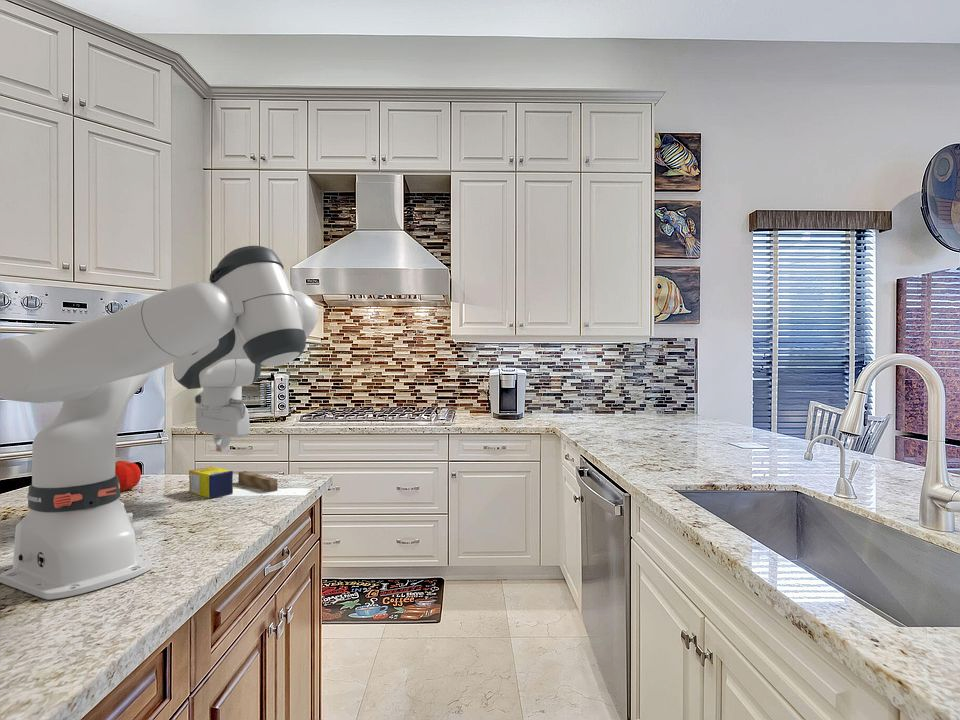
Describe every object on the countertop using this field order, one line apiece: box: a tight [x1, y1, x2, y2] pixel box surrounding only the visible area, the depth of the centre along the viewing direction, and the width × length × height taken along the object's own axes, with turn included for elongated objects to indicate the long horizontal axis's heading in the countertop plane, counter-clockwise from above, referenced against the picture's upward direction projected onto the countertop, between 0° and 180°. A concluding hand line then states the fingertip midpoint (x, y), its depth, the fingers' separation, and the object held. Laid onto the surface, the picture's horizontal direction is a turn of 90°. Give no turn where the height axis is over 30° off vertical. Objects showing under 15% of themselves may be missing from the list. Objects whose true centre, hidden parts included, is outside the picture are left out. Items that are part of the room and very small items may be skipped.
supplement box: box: [188, 466, 234, 499], centre depth 129 cm, size 6×6×11 cm
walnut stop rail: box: [237, 470, 278, 493], centre depth 136 cm, size 16×2×3 cm, turn 55°
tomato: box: [115, 460, 142, 493], centre depth 131 cm, size 11×11×8 cm
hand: (222, 451), depth 126 cm, fingers closed
